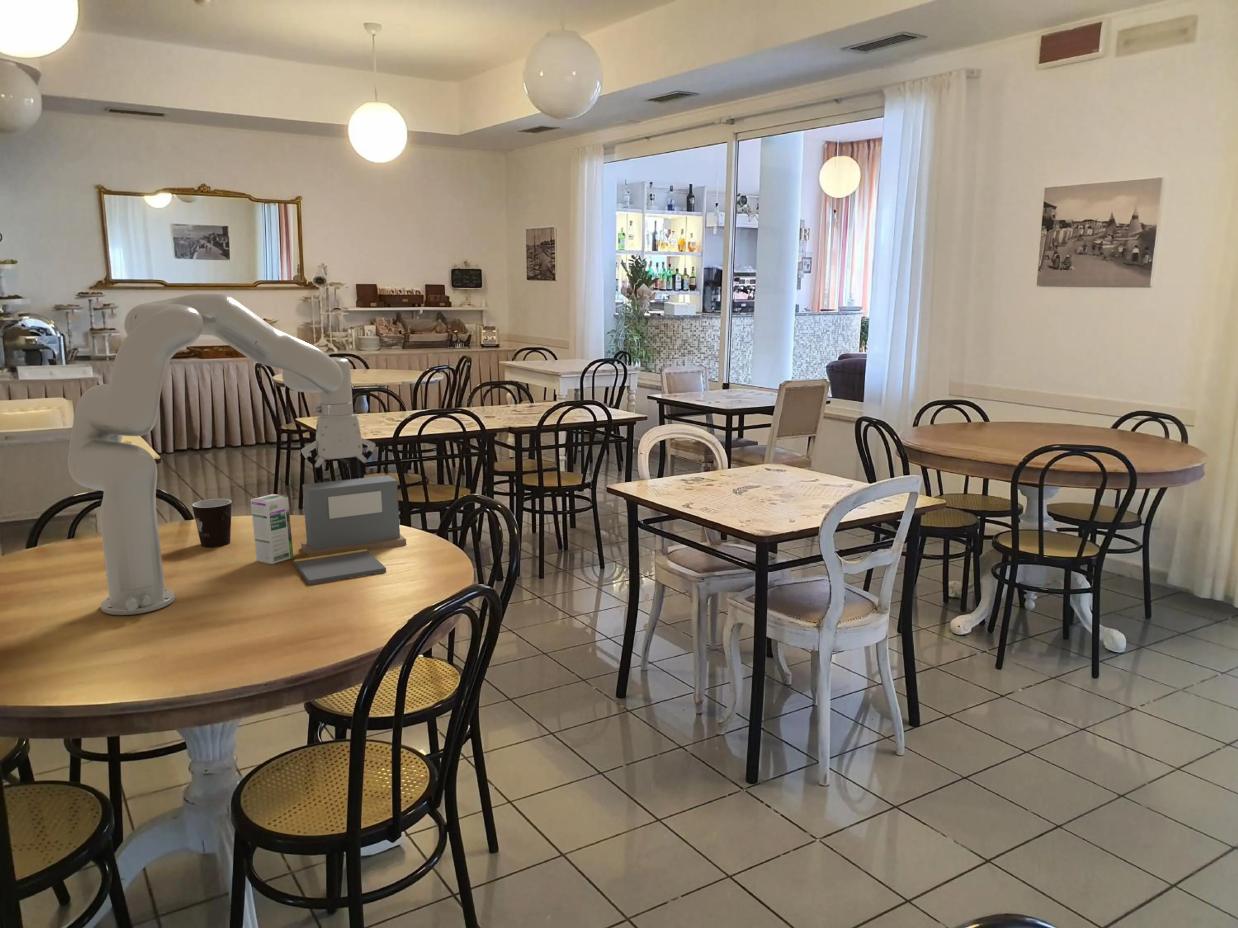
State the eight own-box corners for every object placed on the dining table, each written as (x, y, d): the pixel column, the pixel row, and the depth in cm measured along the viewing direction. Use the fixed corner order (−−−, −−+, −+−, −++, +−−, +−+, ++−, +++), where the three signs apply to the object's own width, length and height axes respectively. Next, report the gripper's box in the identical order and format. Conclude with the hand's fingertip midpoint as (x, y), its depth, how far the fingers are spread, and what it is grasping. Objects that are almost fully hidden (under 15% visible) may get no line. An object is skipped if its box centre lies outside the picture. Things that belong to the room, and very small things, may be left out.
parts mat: (386, 572, 194) (386, 567, 194) (309, 584, 186) (309, 579, 186) (366, 553, 207) (366, 548, 207) (293, 564, 199) (293, 559, 199)
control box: (406, 544, 214) (403, 481, 211) (310, 559, 203) (305, 492, 200) (394, 534, 222) (390, 473, 219) (301, 548, 212) (296, 483, 208)
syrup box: (272, 565, 199) (267, 501, 196) (255, 560, 202) (250, 497, 199) (293, 558, 204) (289, 495, 201) (276, 554, 207) (271, 492, 204)
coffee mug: (195, 541, 218) (191, 501, 216) (234, 537, 221) (231, 497, 219) (196, 554, 207) (191, 512, 205) (236, 549, 211) (232, 508, 209)
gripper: (301, 414, 207) (307, 487, 210) (377, 409, 215) (381, 479, 219) (295, 410, 213) (300, 481, 216) (368, 405, 222) (372, 473, 225)
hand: (341, 480), depth 217 cm, fingers open, 9 cm apart
